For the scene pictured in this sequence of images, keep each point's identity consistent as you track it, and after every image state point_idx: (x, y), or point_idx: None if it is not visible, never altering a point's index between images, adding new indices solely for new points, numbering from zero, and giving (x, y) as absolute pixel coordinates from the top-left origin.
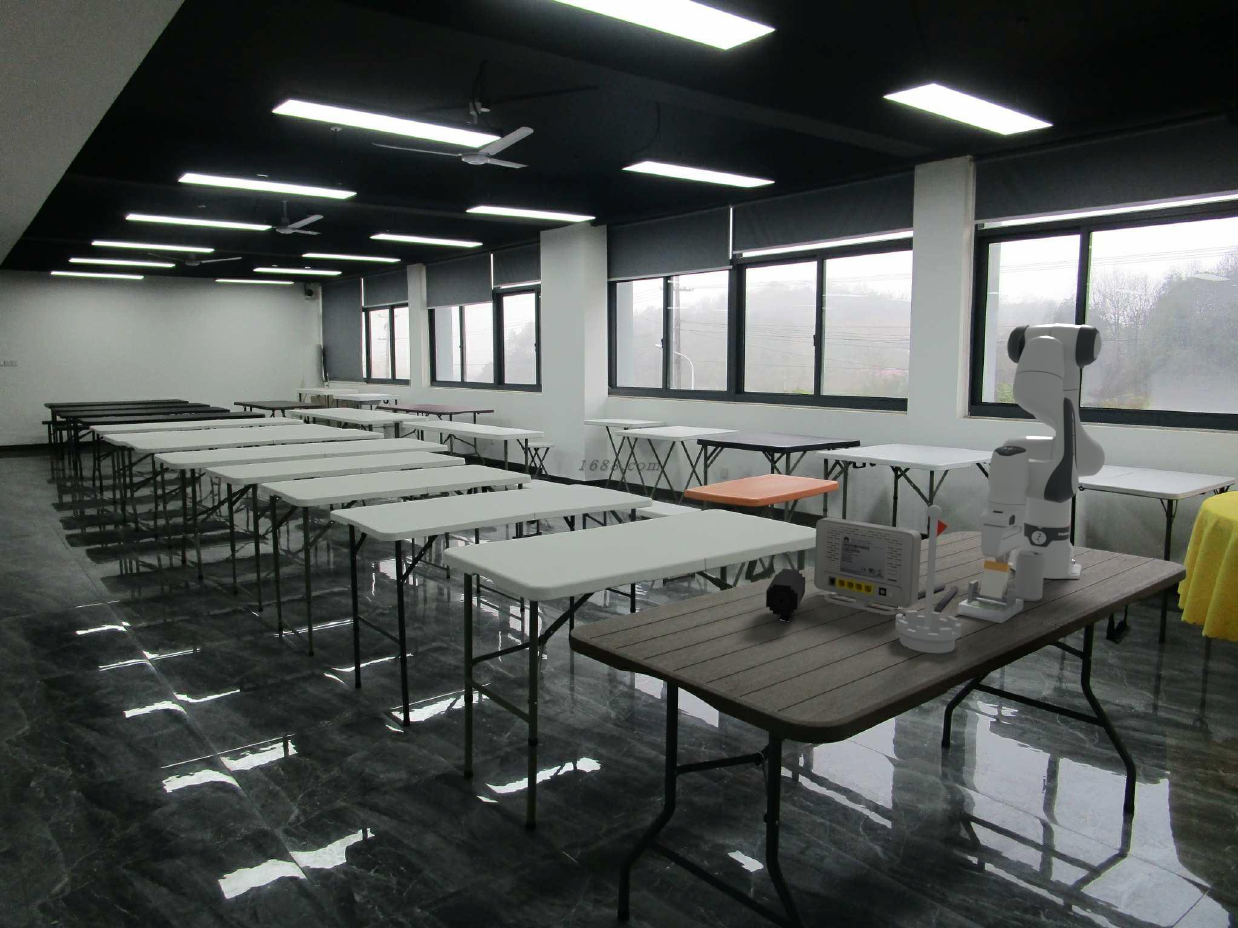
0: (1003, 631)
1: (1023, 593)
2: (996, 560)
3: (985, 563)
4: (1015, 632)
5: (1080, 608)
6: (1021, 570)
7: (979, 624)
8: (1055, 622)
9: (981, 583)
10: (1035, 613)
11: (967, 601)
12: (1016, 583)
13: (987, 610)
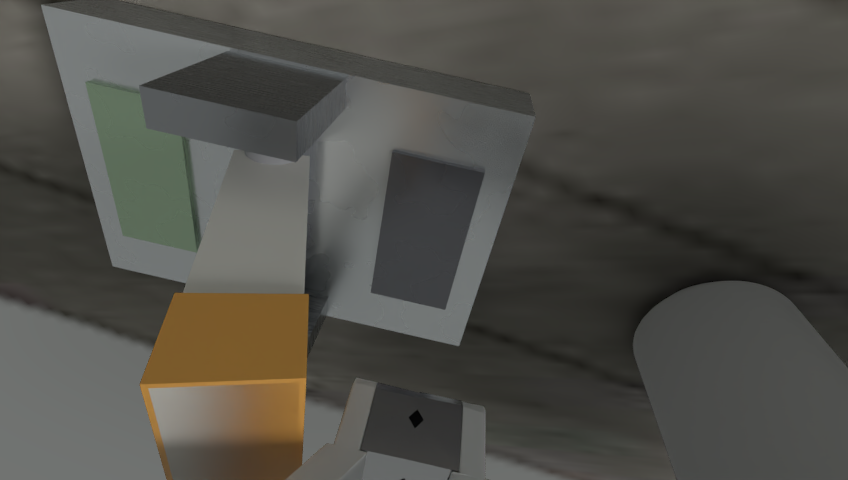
0: (48, 243)
1: (649, 340)
2: (298, 472)
3: (160, 352)
4: (82, 281)
5: (599, 468)
6: (728, 467)
7: (38, 144)
8: (335, 393)
9: (218, 194)
10: (420, 345)
11: (157, 59)
12: (720, 347)
13: (96, 195)
